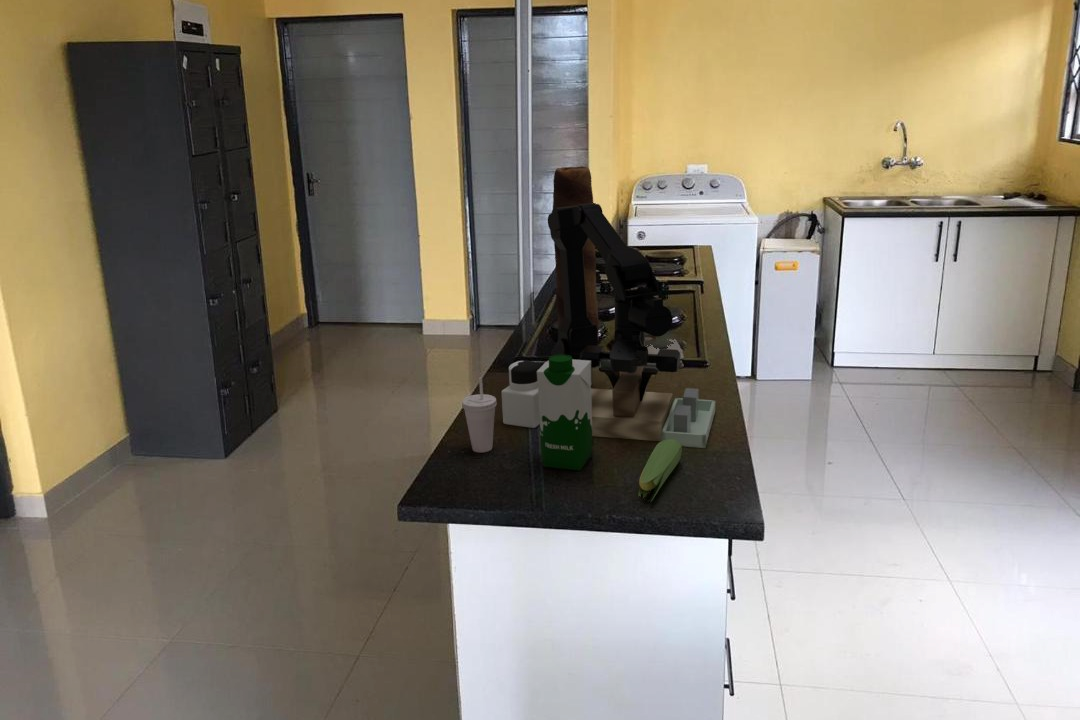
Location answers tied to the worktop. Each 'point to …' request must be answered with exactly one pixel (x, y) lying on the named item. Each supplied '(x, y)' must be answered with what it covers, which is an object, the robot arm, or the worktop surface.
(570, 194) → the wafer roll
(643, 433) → the board
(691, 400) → the tile
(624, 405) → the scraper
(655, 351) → the washcloth
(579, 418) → the milk carton
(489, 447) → the smoothie
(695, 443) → the tray
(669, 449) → the edible corn
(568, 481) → the worktop surface
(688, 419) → the tile
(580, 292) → the robot arm
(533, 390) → the medicine bottle
